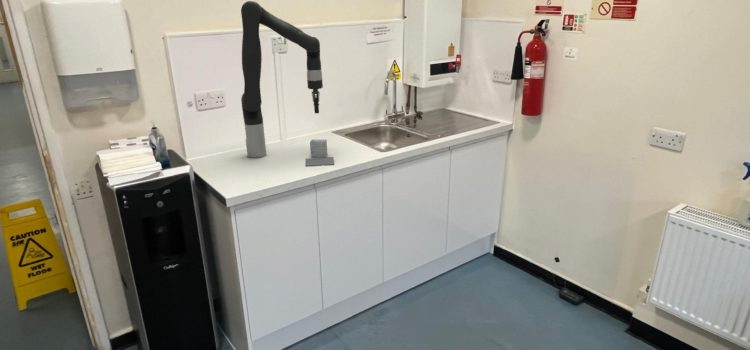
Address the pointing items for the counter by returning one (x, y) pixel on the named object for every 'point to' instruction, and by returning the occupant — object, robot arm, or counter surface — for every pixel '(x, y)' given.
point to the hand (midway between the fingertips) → (316, 111)
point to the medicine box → (318, 148)
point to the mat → (319, 161)
